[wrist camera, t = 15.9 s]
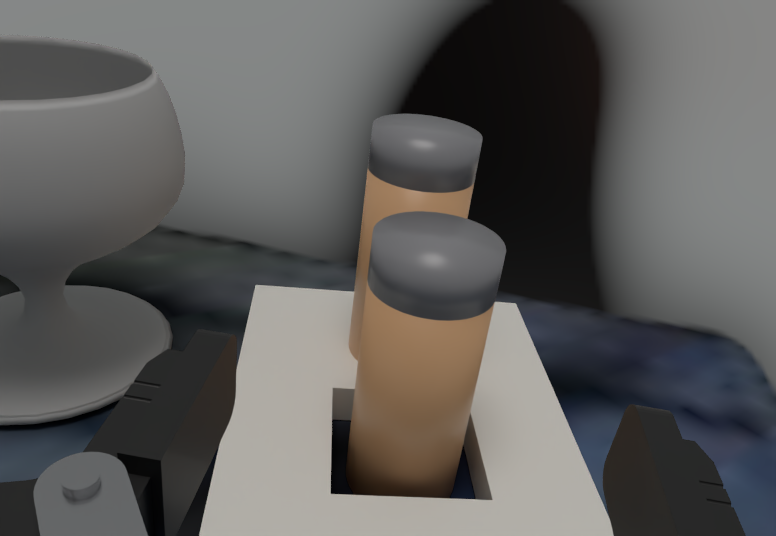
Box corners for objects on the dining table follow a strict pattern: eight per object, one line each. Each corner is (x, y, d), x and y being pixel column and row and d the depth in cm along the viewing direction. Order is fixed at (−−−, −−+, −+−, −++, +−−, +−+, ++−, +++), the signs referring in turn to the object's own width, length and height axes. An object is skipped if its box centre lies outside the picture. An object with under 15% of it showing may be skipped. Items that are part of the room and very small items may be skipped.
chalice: (-138, 330, 35) (-230, 32, 28) (123, 264, 44) (104, 26, 37) (-66, 497, 26) (-172, 130, 19) (239, 373, 35) (243, 92, 28)
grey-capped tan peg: (345, 515, 28) (376, 266, 22) (345, 433, 32) (370, 206, 27) (462, 518, 28) (520, 276, 23) (445, 437, 33) (491, 216, 27)
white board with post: (199, 573, 25) (191, 237, 18) (255, 313, 41) (261, 82, 34) (608, 583, 27) (736, 280, 20) (509, 329, 42) (562, 114, 36)
